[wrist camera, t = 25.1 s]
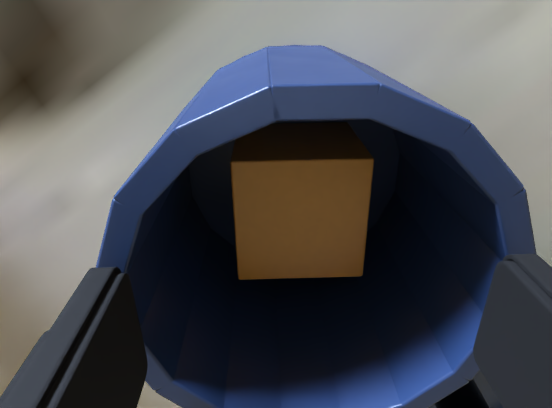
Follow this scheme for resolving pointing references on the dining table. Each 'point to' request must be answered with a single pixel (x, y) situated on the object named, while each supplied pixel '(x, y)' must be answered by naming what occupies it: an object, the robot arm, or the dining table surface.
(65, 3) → the dining table surface
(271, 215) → the block
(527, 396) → the robot arm
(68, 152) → the dining table surface
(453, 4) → the dining table surface
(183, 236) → the pot
